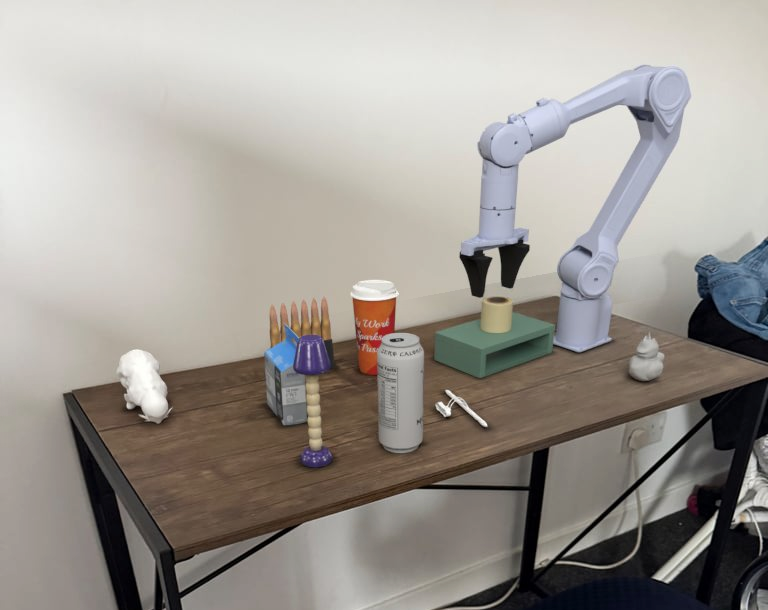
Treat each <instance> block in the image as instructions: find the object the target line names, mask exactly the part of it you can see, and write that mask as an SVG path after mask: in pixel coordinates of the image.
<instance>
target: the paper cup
mask: <svg viewBox="0 0 768 610" xmlns="http://www.w3.org/2000/svg"><path fill="white" fill-rule="evenodd" d="M397 289H398V288H397V287H396V285H395V283H394V282H393V281H389V280H384V279H366V280H361V281H358V282H356V283H355V284H353V285H352V290H351V291H350V297H351V298H352V308H353V319H354V329H355V340H356V349H357V350H356V351H357V358H358V361H357V362H358V367H359V371H360V372H361V373H362V374H365V375H370V376H377V351H378V349H379V347H380V345H381V343H382V337H384V336H385V335H388V334H392V333H396V330H395V329H396V311H397V310H396V309H397V297H398V296H399V295H400V293H399V291H398V290H397Z"/></svg>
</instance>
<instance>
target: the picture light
mask: <svg viewBox="0 0 768 610" xmlns="http://www.w3.org/2000/svg"><path fill="white" fill-rule="evenodd" d="M444 392H445V394H446V396H448V397H449V398H451V399H450V400H449V401H448V403H447V405H445V404H444V403H443V401H438V402H435V404H434V405H435V408H436V410H437V411H438V412H440V414H442V415H443V417H444V418H447V417H448V418H449V417H451V416H452V412H451V411H452V409H451V408H452V406H453V404H454V403H456V404H457V405H459V406H460V407H461V408H462V409H463V410H464V411H465V412H466V413H467V414H468V415H470V416H471V417H472V418H473V419H474V420H475V421H477V423H479V425H481V426H482V427H484V428H488V422H487V421H485V420H484V419H483V418H481V417H480V416H479V415H478V414H477V413H476V412H475V411H474V410H473V409H471V408H470V407H469V404H467V401H466V400H464V398H463V397H460V396H456V395H455V394H454V393H453V392H452V391H451V390H449V389H445V391H444ZM452 401H453V402H452ZM450 403H451V404H450Z"/></svg>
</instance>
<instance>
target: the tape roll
mask: <svg viewBox="0 0 768 610" xmlns="http://www.w3.org/2000/svg"><path fill="white" fill-rule="evenodd" d="M513 309H514V300H513V299H512V298H511V297H508V296H503V295H490V296H486V297H482V300H481V309H480V319H481V326H480V328H481V330H483V331H485V332H489V333H505V332H508V331H510V330H511V324H512V312H514V311H513Z"/></svg>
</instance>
